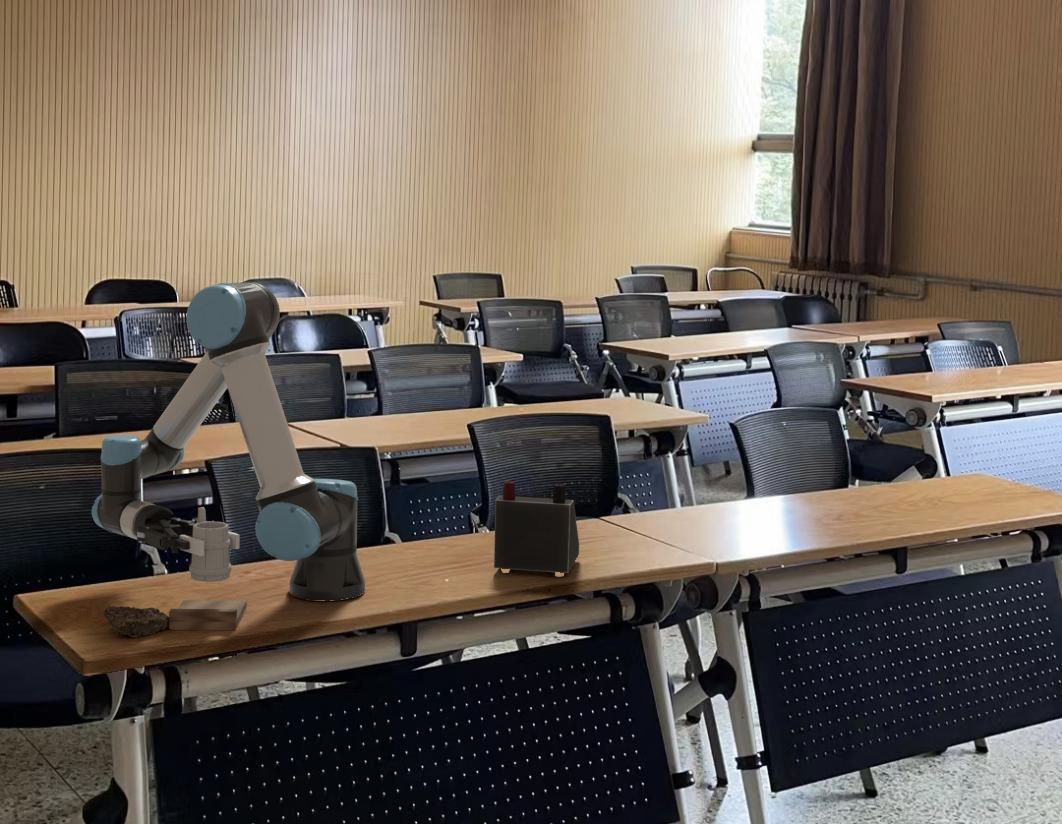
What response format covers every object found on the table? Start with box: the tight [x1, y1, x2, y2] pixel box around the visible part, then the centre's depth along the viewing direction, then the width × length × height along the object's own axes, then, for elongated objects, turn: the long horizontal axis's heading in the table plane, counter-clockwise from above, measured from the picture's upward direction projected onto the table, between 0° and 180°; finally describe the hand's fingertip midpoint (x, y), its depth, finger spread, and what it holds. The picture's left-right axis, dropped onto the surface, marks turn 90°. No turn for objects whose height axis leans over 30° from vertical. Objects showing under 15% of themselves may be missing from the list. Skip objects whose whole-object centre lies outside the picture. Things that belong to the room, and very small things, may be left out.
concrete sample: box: [102, 604, 169, 638], centre depth 250 cm, size 12×10×5 cm
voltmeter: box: [493, 480, 580, 574], centre depth 301 cm, size 16×16×20 cm
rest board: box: [168, 599, 248, 631], centre depth 258 cm, size 12×14×4 cm
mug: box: [188, 506, 232, 583], centre depth 257 cm, size 8×12×12 cm, turn 30°
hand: (220, 545), depth 253 cm, fingers closed on mug, 7 cm apart
